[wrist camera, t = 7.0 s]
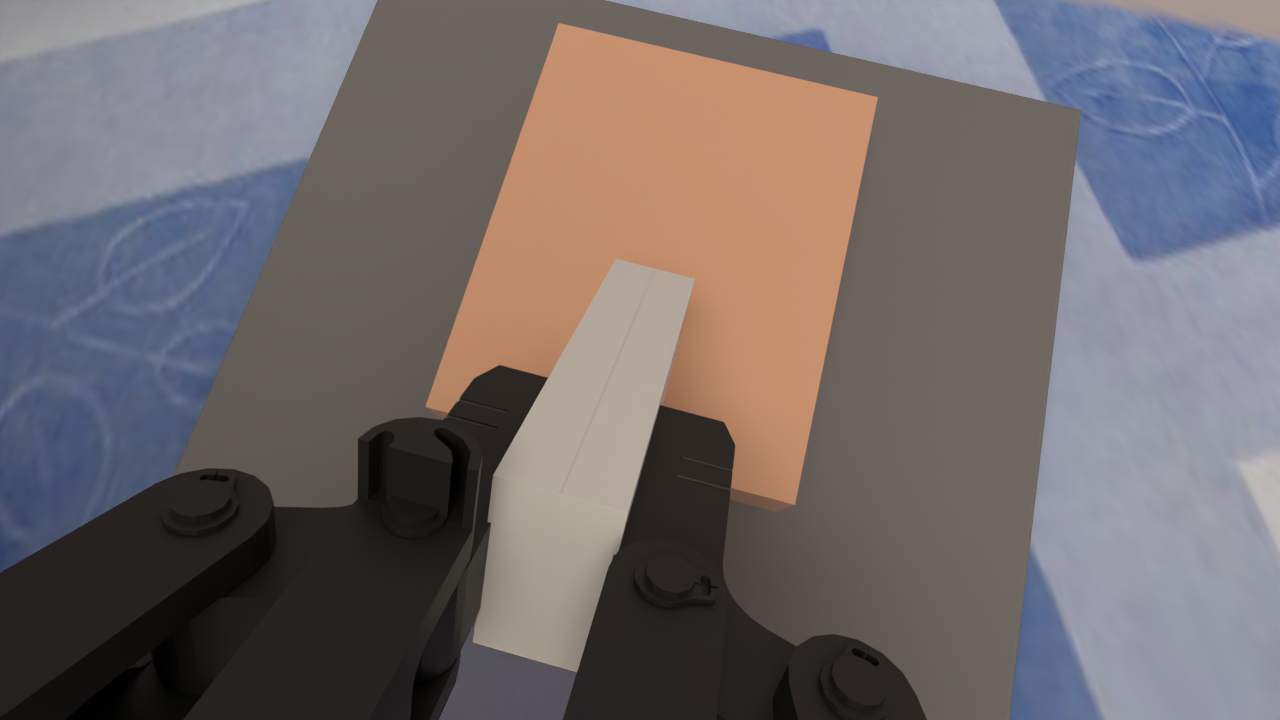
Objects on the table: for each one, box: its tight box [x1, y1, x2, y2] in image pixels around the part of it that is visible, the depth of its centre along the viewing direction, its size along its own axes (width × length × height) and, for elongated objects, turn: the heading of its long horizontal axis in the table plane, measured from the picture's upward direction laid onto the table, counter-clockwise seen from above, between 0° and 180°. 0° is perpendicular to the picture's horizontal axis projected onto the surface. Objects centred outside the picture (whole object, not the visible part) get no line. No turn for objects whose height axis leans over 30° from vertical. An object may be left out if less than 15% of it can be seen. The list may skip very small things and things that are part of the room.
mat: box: [173, 0, 1081, 720], centre depth 19 cm, size 17×20×1 cm
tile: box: [425, 23, 878, 512], centre depth 18 cm, size 2×8×10 cm
